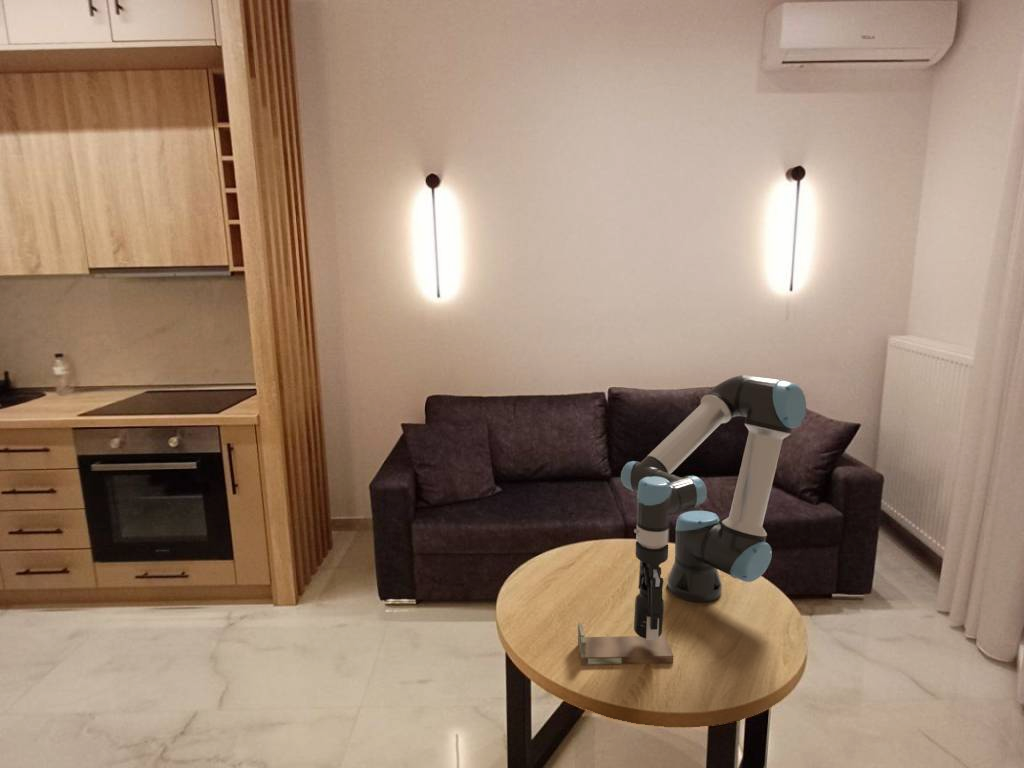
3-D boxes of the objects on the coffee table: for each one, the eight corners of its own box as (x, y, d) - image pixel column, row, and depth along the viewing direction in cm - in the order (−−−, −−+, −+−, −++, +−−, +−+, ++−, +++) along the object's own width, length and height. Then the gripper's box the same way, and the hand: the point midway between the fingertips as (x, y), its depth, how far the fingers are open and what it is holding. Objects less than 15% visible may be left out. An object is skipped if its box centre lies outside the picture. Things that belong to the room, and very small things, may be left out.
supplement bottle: (646, 643, 145) (647, 596, 143) (628, 628, 151) (629, 583, 149) (668, 635, 148) (670, 589, 146) (650, 620, 154) (651, 577, 152)
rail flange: (664, 642, 155) (665, 620, 154) (673, 663, 147) (674, 640, 146) (577, 643, 155) (578, 621, 154) (581, 665, 147) (581, 642, 146)
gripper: (628, 524, 155) (625, 607, 159) (645, 562, 136) (641, 655, 140) (657, 524, 155) (654, 607, 159) (679, 561, 136) (674, 655, 140)
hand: (648, 629), depth 150 cm, fingers closed on supplement bottle, 7 cm apart
